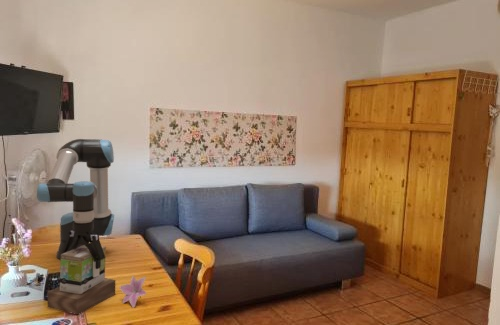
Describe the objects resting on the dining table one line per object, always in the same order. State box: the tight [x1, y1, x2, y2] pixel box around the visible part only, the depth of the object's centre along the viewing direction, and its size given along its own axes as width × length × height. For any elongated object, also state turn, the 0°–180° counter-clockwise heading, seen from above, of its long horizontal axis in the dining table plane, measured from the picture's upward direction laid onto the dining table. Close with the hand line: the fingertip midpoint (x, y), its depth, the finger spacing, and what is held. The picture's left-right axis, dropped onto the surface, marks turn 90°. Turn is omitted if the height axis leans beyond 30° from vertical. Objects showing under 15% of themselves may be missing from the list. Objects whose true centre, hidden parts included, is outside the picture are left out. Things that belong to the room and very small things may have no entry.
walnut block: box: [47, 277, 116, 315], centre depth 148 cm, size 15×20×6 cm
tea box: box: [59, 245, 107, 294], centre depth 148 cm, size 15×10×15 cm, turn 167°
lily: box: [119, 275, 147, 308], centre depth 150 cm, size 12×12×10 cm
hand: (83, 273), depth 148 cm, fingers open, 13 cm apart
